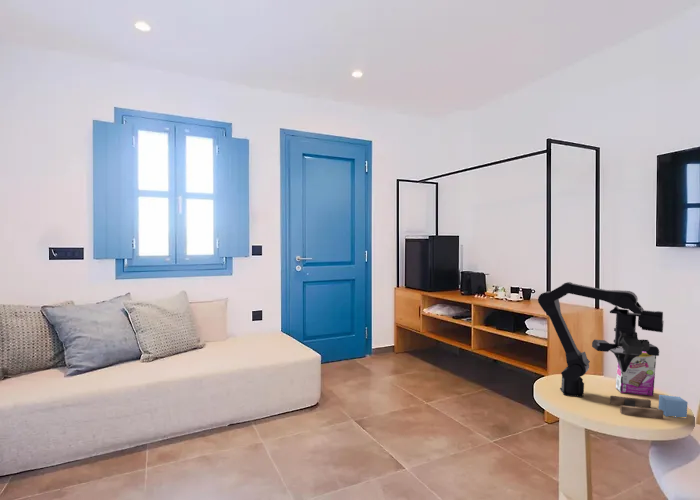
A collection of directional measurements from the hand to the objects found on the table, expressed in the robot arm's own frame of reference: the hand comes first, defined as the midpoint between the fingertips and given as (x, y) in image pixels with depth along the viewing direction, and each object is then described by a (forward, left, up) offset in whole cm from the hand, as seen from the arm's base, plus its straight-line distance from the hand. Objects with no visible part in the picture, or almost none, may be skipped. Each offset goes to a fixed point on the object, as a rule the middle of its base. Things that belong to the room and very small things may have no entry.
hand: (623, 371), depth 138 cm
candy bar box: (+10, +15, -12) cm, 22 cm away
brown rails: (+3, -3, -12) cm, 13 cm away
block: (+14, -3, -12) cm, 19 cm away
